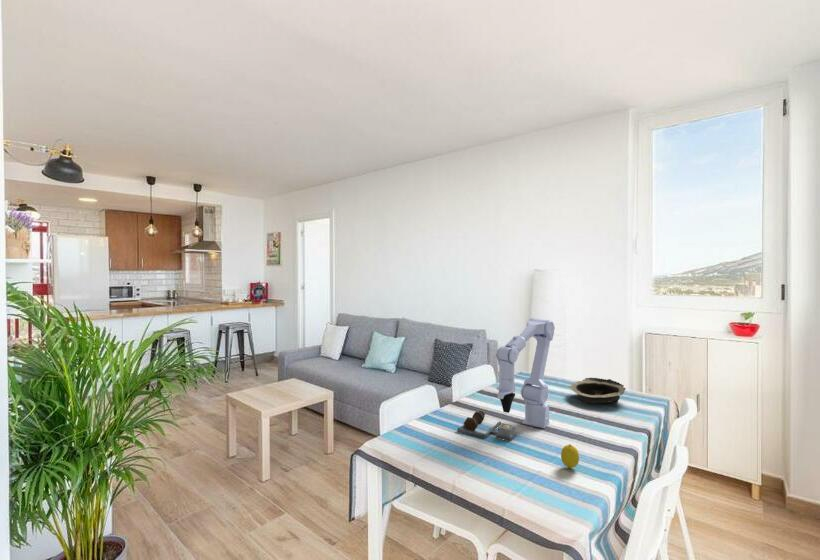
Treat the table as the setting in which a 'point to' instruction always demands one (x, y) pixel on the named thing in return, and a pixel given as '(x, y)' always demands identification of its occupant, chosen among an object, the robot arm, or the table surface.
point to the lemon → (570, 456)
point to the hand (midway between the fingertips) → (506, 411)
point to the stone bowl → (598, 390)
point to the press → (493, 432)
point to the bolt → (474, 420)
